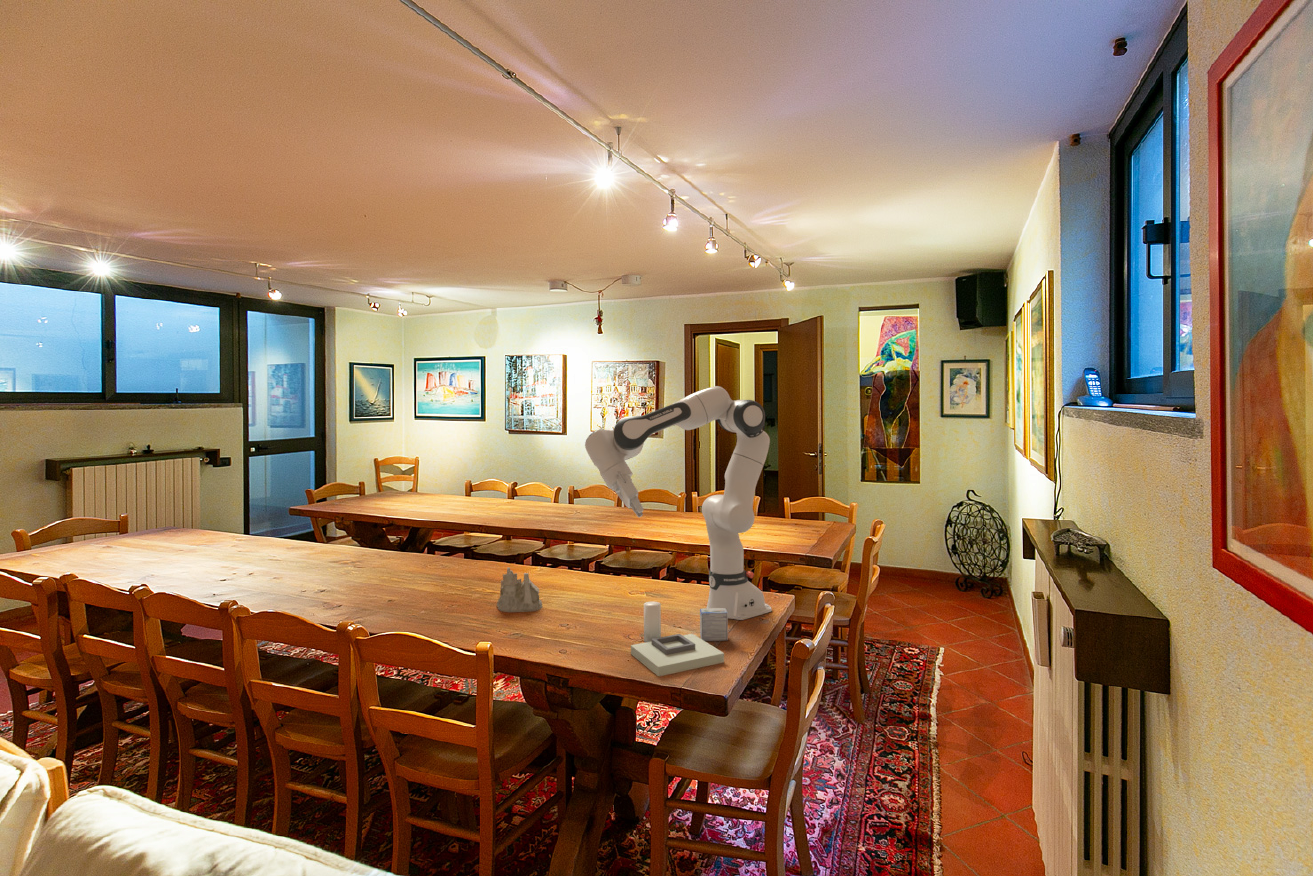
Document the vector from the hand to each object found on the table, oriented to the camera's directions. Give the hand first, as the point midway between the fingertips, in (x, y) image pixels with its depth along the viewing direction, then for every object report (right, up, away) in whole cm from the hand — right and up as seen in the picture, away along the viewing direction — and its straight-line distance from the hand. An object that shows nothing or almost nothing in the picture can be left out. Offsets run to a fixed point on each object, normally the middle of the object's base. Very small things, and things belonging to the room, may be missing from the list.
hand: (641, 514), depth 199 cm
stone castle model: (-43, -35, +27) cm, 62 cm away
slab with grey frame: (+10, -37, -21) cm, 44 cm away
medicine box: (+22, -37, -7) cm, 43 cm away
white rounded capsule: (+3, -37, -8) cm, 38 cm away
